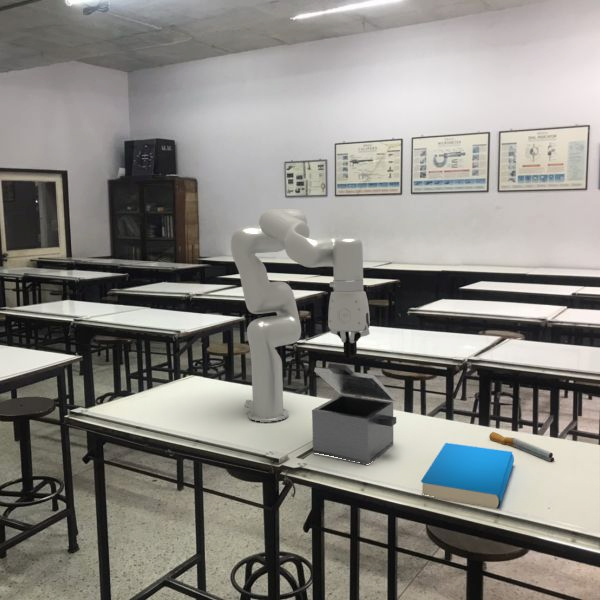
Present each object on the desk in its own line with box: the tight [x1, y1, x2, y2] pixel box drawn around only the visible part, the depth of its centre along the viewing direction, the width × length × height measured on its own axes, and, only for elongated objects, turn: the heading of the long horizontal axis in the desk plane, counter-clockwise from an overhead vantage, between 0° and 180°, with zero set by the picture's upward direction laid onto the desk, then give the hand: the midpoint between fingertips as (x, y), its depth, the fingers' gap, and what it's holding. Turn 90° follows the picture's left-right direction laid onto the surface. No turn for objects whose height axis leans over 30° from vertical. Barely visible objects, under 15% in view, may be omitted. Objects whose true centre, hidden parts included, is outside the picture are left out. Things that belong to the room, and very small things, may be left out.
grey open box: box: [311, 394, 397, 464], centre depth 162 cm, size 20×16×12 cm
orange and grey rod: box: [488, 431, 555, 463], centre depth 160 cm, size 19×3×3 cm
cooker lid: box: [313, 362, 396, 402], centre depth 161 cm, size 17×21×3 cm
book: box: [420, 442, 515, 509], centre depth 143 cm, size 17×4×25 cm
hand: (350, 356), depth 158 cm, fingers closed
